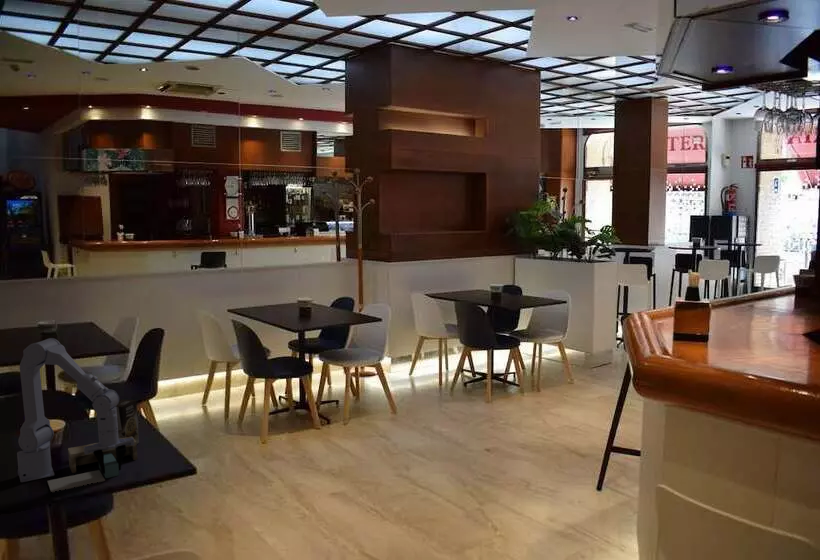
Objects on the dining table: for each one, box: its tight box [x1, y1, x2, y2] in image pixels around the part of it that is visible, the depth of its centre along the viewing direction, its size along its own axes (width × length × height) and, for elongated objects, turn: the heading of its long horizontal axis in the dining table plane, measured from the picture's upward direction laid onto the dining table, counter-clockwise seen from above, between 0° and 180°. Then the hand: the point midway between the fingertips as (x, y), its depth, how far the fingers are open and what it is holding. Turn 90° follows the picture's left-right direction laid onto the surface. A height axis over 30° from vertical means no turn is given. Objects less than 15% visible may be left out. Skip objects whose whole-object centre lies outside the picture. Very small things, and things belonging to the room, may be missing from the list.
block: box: [98, 453, 120, 479], centre depth 222 cm, size 4×12×4 cm, turn 34°
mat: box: [47, 469, 106, 493], centre depth 214 cm, size 15×10×1 cm, turn 123°
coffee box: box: [115, 399, 140, 445], centre depth 245 cm, size 9×6×16 cm
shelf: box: [67, 436, 138, 474], centre depth 229 cm, size 20×7×6 cm, turn 123°
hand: (111, 471), depth 219 cm, fingers closed on block, 4 cm apart
